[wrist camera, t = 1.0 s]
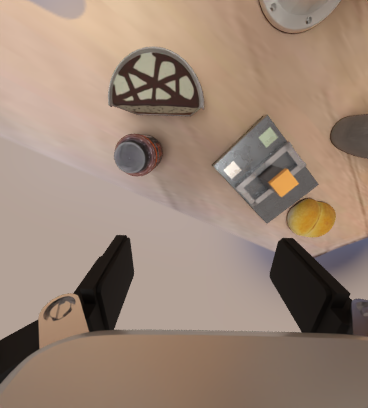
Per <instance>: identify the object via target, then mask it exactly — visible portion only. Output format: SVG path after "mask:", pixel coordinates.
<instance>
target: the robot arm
mask: <svg viewBox="0 0 368 408" xmlns="http://www.w3.org/2000/svg"><path fill="white" fill-rule="evenodd" d="M340 1H341V0H259V2H260V5H261V8H262V11H263V13H264V14H265V16H266V18H267V19H268V21H269V22H270V23H271V24H272V25H273V26H274V27H276V28H277V29H279V30H281V31H284V32H287V33H299V32H304V31H306V30H309V29H311V28H313V27H314V26H316V25H318V24H319V23H320V22H321V21H323V20H324V19H325V18H326V17H327V16H328V15H329V14H330V13H331V12H332V11H333V10H334V9H335V8H336V7H337V5H338V4H339V3H340ZM271 10H272V11H271ZM133 276H134V268H133V260H132V252H131V244H130V238H127V236H126V235H116V237H115V238H114V240H113V241H112V242H111V244H110V246H109V247H108V248H107V250H106V251H105V253H104V254H103V256H101V257H99V258H98V260H97V261H96V262H95V264H94V265H93V266H92V268H91V270H90V271H89V272H88V273H87V275H86V276H85V278H84V279H83V281H82V282H81V283H80V285H79V286H78V288H77V289H76V291H75V292H74V293H73V294H72V293H70V294H69V293H68V294H63V295H61V296H58V297H56V298H55V299H53V300H51V301H50V302H49V303H47V304H46V305H45V306H44V307H43V309H42V310H41V312H40V314H39V318H38V320H37V321H35V322H33V323H31V324H29V325H27V326H25V327H24V328H22V329H20V330H18V331H16V332H14V333H13V334H11V335H9V336H7V337H5V338H4V339H2V340H0V408H368V300H364V299H354V300H351V299H350V298H349V296H350V293H349V292H348V291H347V290H346V289H345V288H344V287H343V286H342V285H341V284H340V283H339V282H338V281H337V280H336V279H335V278H334V277H333V276H332V275H331V274H330V273H328V271H326V270H325V269H324V268H323V267H322V266H321V265H320V264H319V263H318V262H317V261H316V260H315V259H314V258H313V257H312V256H311V255H310V254H309V253H308V252H307V251H306V250H305V249H304V248H303V247H302V246H301V245H300V244H298V243H297V242H296V241H295V240H294V239H293V238H282V239H281V240H280V241H278V244H277V248H276V252H275V256H274V260H273V263H272V267H271V271H270V278H271V280H272V282H273V284H274V286H275V287H276V289H277V291H278V292H279V294H280V296H281V298H282V299H283V301H284V302H285V304H286V306H287V308H288V309H289V311H290V313H291V315H292V316H293V318H294V320H295V321H296V323H297V325H298V326H299V328H300V330H301V332H302V333H299V332H298V333H297V332H259V331H207V330H205V331H204V330H114V328H115V325H116V322H117V319H118V317H119V314H120V311H121V308H122V306H123V303H124V300H125V298H126V295H127V292H128V290H129V287H130V284H131V281H132V279H133Z"/></svg>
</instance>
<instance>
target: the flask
mask: <svg viewBox="0 0 368 408" xmlns="http://www.w3.org/2000/svg"><path fill="white" fill-rule="evenodd" d="M331 141H332V143H333V144H334V145H335V146H336V147H337V148H338V149H340V150H342V151H344V152H346V153H349V154H351V155H354V156H358V157H362V158H367V159H368V114H364V115H356V116H349V117H345V118H343V119H341V120H340V121H339V122H337V123H336V125H335V126H334V128H333V129H332V132H331Z"/></svg>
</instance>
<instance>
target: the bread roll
mask: <svg viewBox="0 0 368 408" xmlns="http://www.w3.org/2000/svg"><path fill="white" fill-rule="evenodd" d="M335 218H336V214H335V211H334V209H333V208H332V207H331V206H330V205H329V204H327V203H323V202H317V201H315V200H313V199H305V200H303V201H301V202H300V203H298V204H297V205H295V206H294V207H292V208H291V209H290V211H289V213H288V216H287V223H288V226H289V228H290V229H291V230H292V231H293V232H294V233H295V234H297V235H300V236H305V237H319V236H322V235H324V234H326V233H327V232H328V231H329V230H330V229H331V228H332V227H333V225H334V222H335Z"/></svg>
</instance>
